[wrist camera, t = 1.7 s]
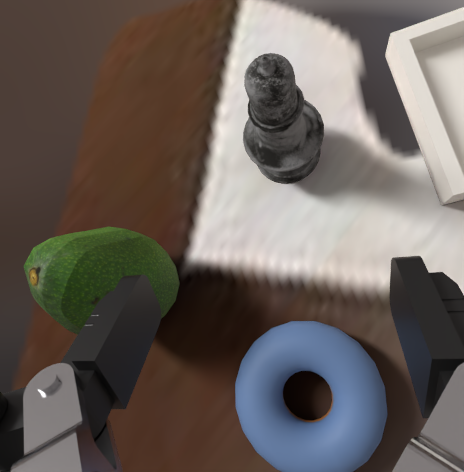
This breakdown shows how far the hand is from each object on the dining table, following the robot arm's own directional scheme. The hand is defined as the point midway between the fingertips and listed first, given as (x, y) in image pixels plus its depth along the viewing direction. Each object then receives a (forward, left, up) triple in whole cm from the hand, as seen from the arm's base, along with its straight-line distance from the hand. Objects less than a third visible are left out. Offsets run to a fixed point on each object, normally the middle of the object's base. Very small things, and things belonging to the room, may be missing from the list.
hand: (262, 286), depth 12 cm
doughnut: (+1, +7, -17) cm, 18 cm away
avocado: (+12, -3, -16) cm, 20 cm away
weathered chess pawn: (-2, -11, -16) cm, 20 cm away
